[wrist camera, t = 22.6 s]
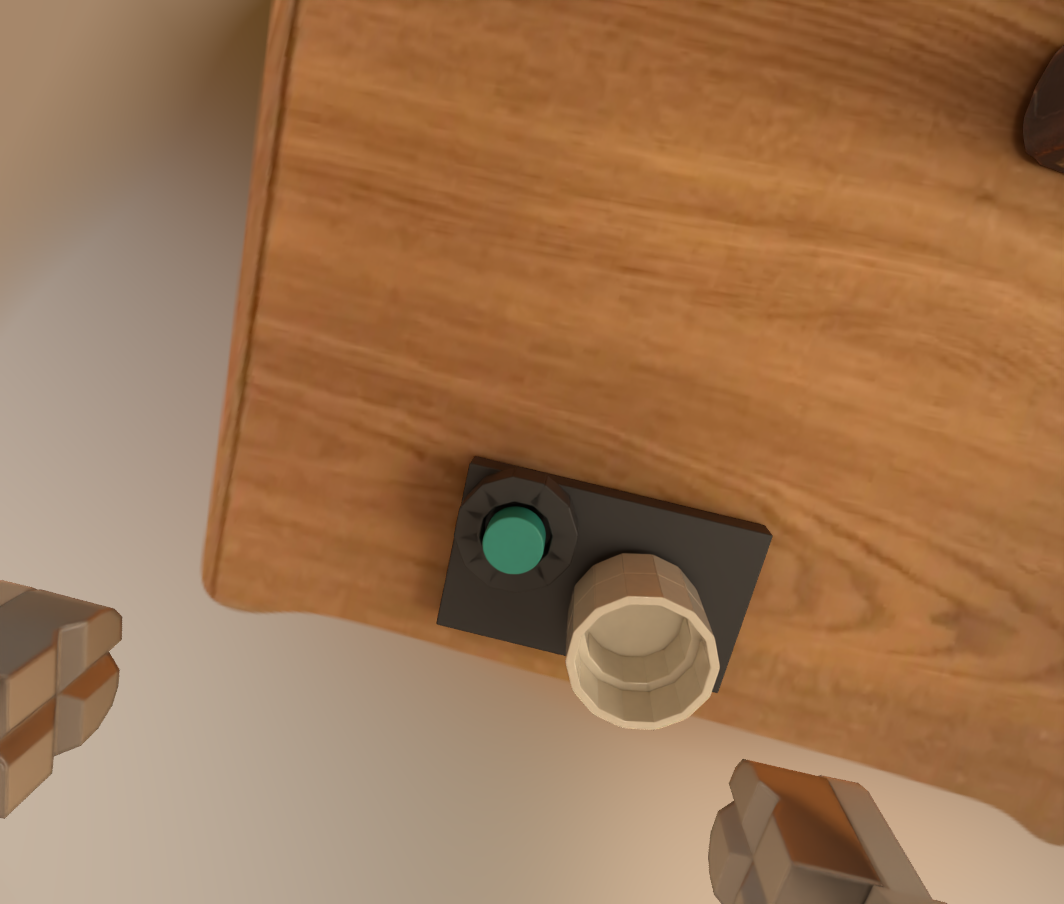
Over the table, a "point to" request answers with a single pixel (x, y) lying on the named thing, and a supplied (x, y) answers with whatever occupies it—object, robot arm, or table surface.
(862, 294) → the table surface
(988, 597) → the table surface
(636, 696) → the beige cup
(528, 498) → the scale
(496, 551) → the button
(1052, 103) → the book
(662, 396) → the table surface
